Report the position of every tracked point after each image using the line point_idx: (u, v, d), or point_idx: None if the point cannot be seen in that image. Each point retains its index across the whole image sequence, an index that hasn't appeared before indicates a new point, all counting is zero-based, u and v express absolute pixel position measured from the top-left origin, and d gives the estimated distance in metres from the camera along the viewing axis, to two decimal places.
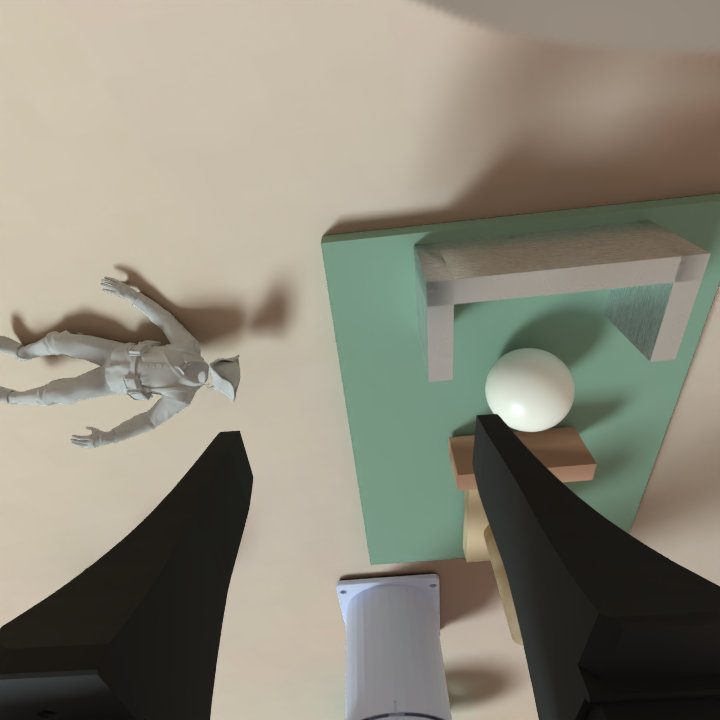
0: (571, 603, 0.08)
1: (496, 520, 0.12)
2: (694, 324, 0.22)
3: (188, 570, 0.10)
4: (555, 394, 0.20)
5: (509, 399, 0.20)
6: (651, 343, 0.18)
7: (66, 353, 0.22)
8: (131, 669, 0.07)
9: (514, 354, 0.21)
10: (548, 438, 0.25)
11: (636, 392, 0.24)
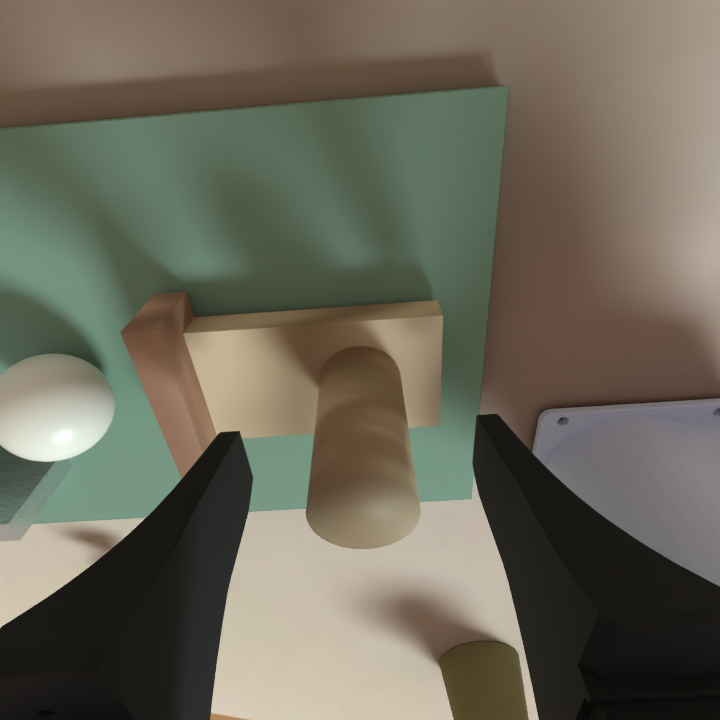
0: (571, 603, 0.08)
1: (496, 519, 0.12)
2: None
3: (188, 570, 0.10)
4: None
5: None
6: None
7: None
8: (131, 669, 0.07)
9: None
10: None
11: (71, 206, 0.15)
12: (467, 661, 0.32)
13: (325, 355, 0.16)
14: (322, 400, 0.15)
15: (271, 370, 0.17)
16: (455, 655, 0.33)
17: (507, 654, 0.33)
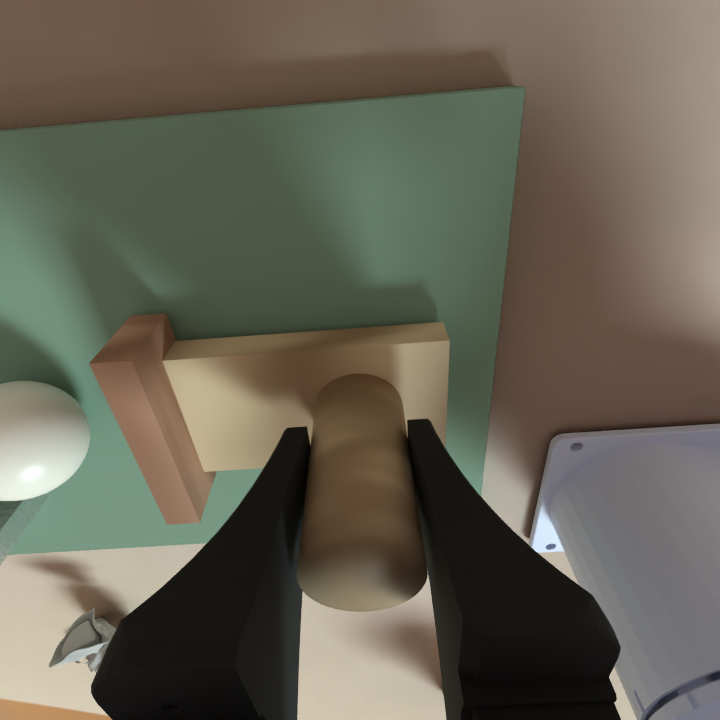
0: (453, 609, 0.08)
1: (421, 524, 0.12)
2: None
3: (280, 565, 0.10)
4: None
5: None
6: None
7: None
8: (253, 663, 0.07)
9: None
10: None
11: (36, 221, 0.13)
12: None
13: (320, 383, 0.15)
14: (316, 437, 0.13)
15: (260, 399, 0.15)
16: None
17: None
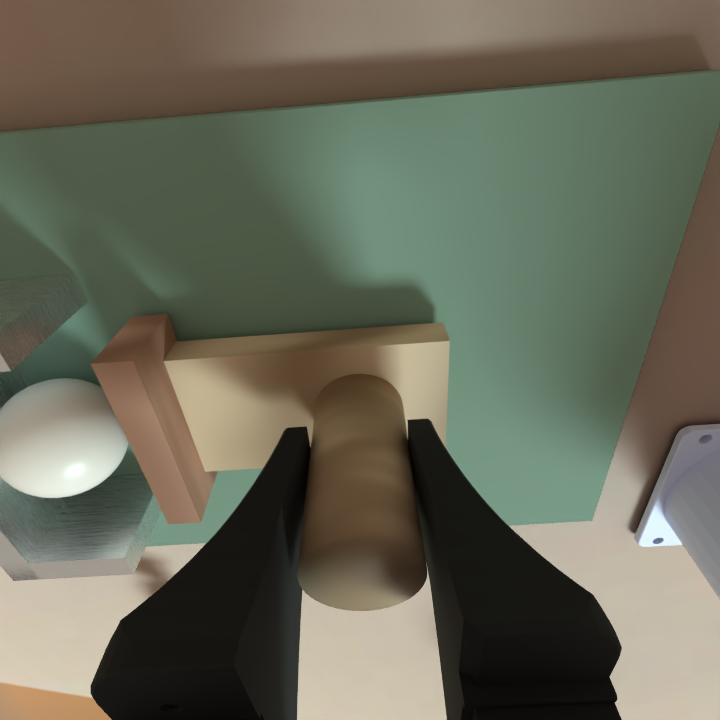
0: (453, 610, 0.08)
1: (421, 524, 0.12)
2: (56, 149, 0.12)
3: (280, 565, 0.10)
4: None
5: None
6: None
7: None
8: (252, 663, 0.07)
9: None
10: None
11: (217, 208, 0.13)
12: None
13: (320, 383, 0.15)
14: (316, 437, 0.13)
15: (261, 399, 0.15)
16: None
17: None
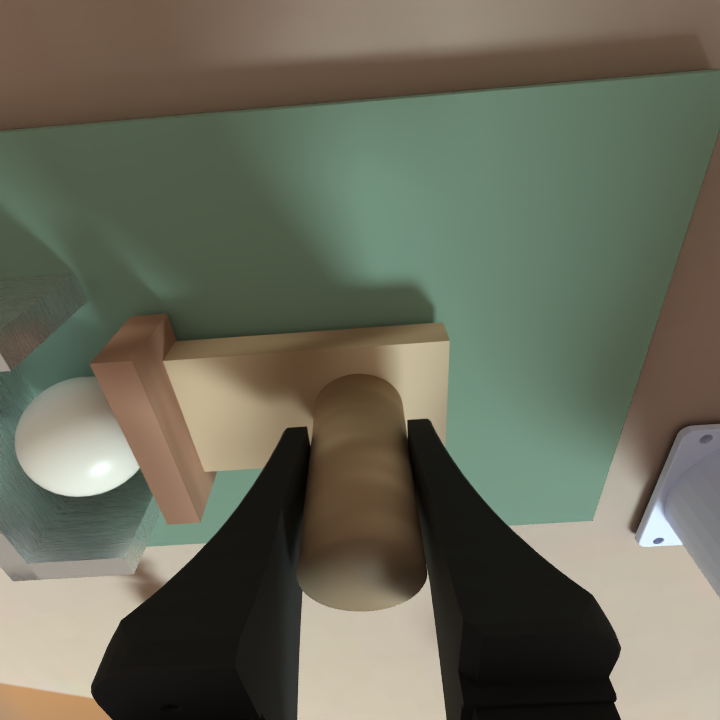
0: (453, 610, 0.08)
1: (421, 524, 0.12)
2: (56, 148, 0.12)
3: (280, 565, 0.10)
4: None
5: None
6: None
7: None
8: (253, 663, 0.07)
9: None
10: None
11: (218, 207, 0.13)
12: None
13: (320, 383, 0.15)
14: (316, 437, 0.13)
15: (261, 399, 0.15)
16: None
17: None
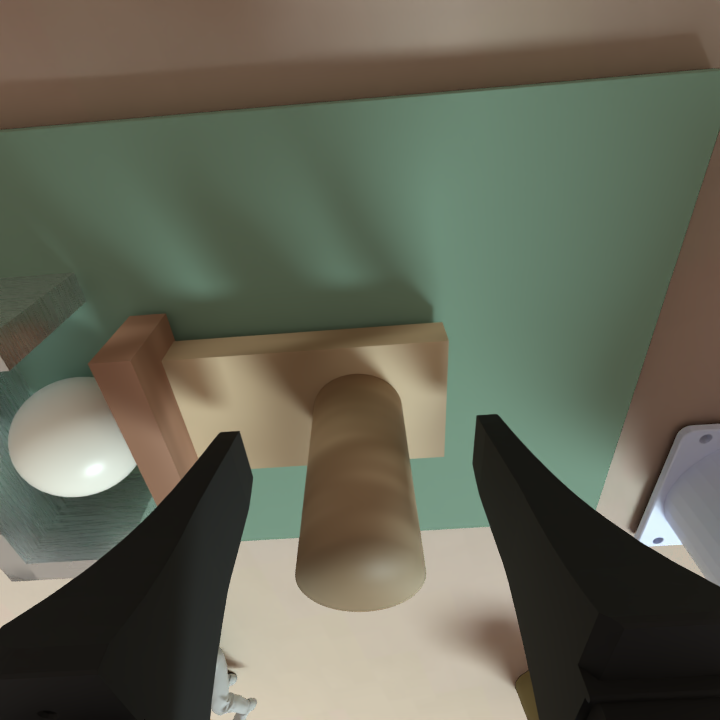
0: (571, 603, 0.08)
1: (496, 520, 0.12)
2: (54, 147, 0.12)
3: (188, 570, 0.10)
4: None
5: None
6: None
7: None
8: (131, 669, 0.07)
9: None
10: None
11: (217, 207, 0.13)
12: None
13: (319, 383, 0.15)
14: (315, 437, 0.13)
15: (259, 399, 0.15)
16: None
17: None
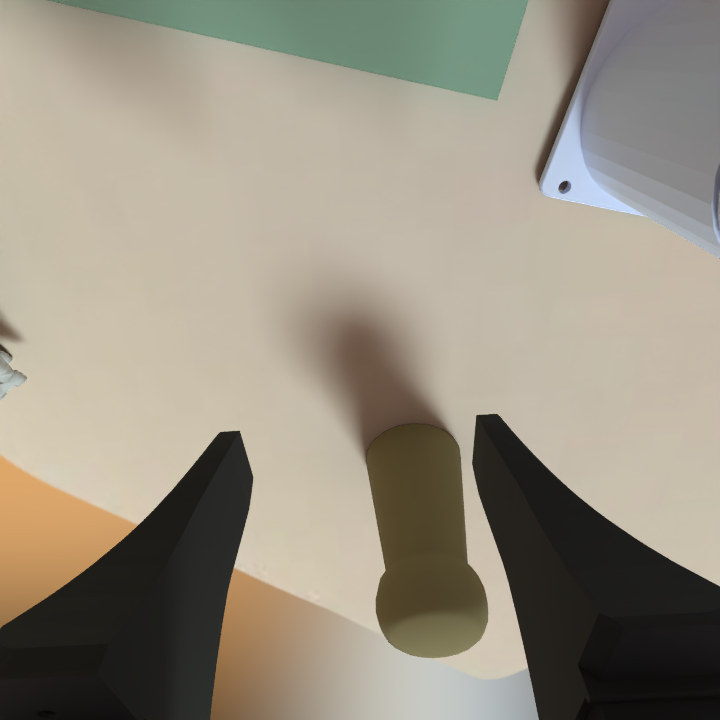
0: (571, 603, 0.08)
1: (496, 519, 0.12)
2: None
3: (188, 570, 0.10)
4: None
5: None
6: None
7: None
8: (131, 669, 0.07)
9: None
10: None
11: None
12: (404, 439, 0.27)
13: None
14: None
15: None
16: (391, 435, 0.27)
17: (451, 444, 0.27)
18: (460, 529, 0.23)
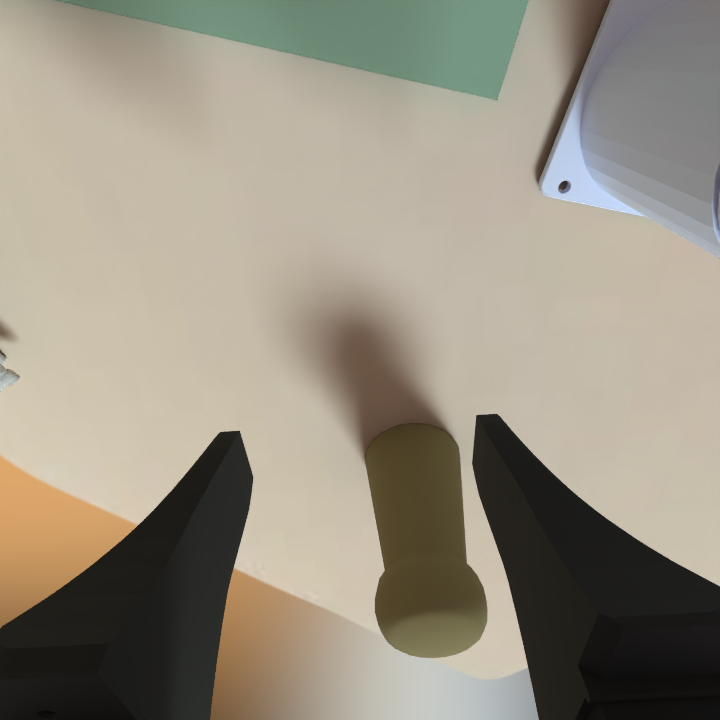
0: (571, 603, 0.08)
1: (496, 519, 0.12)
2: None
3: (188, 570, 0.10)
4: None
5: None
6: None
7: None
8: (131, 669, 0.07)
9: None
10: None
11: None
12: (404, 439, 0.27)
13: None
14: None
15: None
16: (390, 435, 0.27)
17: (451, 444, 0.27)
18: (460, 529, 0.23)
